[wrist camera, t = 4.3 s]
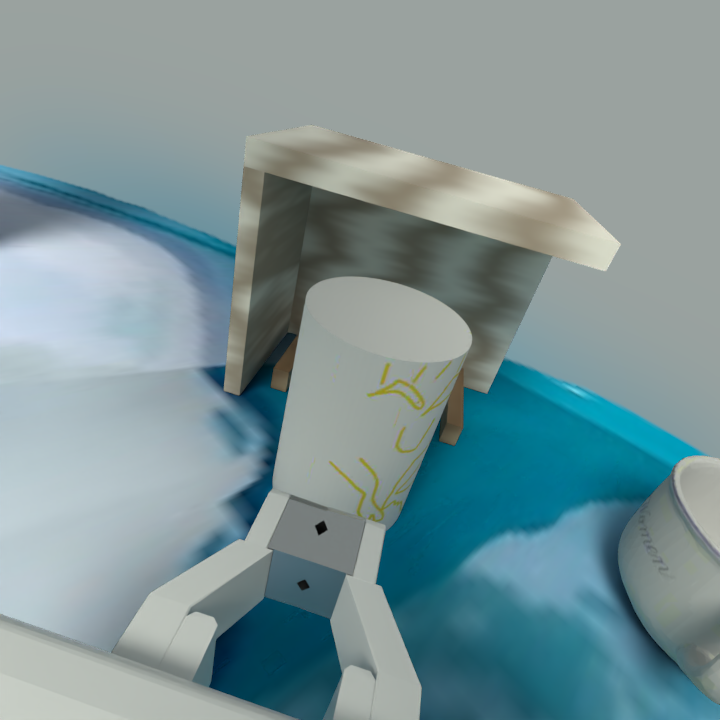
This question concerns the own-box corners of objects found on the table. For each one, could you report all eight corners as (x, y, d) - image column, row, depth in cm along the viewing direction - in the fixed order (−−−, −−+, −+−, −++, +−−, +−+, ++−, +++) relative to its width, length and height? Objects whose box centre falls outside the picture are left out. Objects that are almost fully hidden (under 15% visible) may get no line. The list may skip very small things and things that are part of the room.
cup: (334, 570, 23) (398, 383, 17) (245, 468, 27) (270, 288, 21) (428, 498, 29) (502, 337, 23) (342, 422, 33) (384, 269, 27)
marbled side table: (223, 390, 33) (246, 136, 24) (281, 321, 43) (312, 124, 34) (492, 476, 32) (620, 244, 23) (486, 384, 42) (573, 199, 33)
